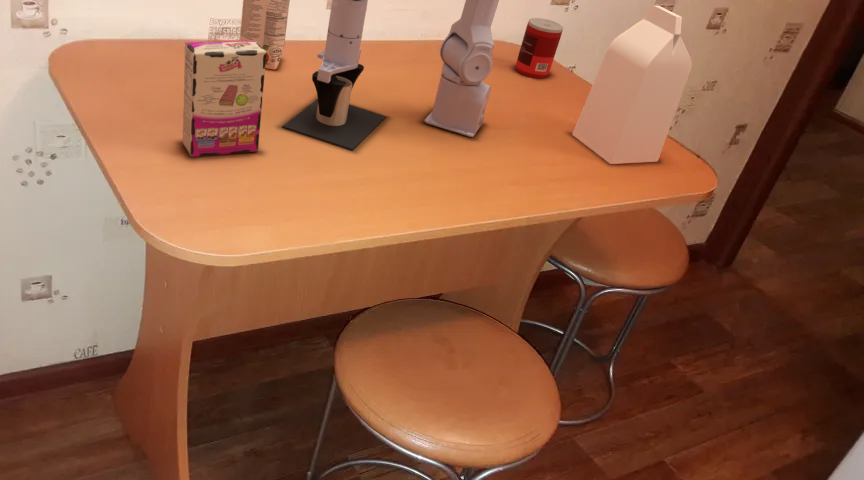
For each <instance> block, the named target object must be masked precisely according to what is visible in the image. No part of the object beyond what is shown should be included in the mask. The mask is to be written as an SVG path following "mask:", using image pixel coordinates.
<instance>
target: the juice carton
mask: <svg viewBox="0 0 864 480" xmlns="http://www.w3.org/2000/svg"><path fill="white" fill-rule="evenodd" d="M290 1H291V0H242V10H241V21H240V34H239V41H256V42H257V43H258V44H259V45H260V46H261V47H262V48H263V49H264V50H265V51H266V64H265V69H269V70H277V69H278V66H279V65H280V62H281V59H282V57H283V53H284V51H285V50H284V49H285V45H286V44H285V43H286V35H287V28H288V27H287V26H288V19H289V10H290Z"/></svg>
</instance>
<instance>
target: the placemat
mask: <svg viewBox="0 0 864 480" xmlns="http://www.w3.org/2000/svg"><path fill="white" fill-rule="evenodd" d="M317 107H318V98H317V99H315V100H314V101H313V102H312V103H310V104H309V105H308V106H306V107H305V108H303V110H301V111H300V112H299V113H297V114H296V115H295V116H293V117H292V118H290V120H288V121H287V122H286V123H284V124H283V125H282V126H281V127H282V129H285V130H288V131H290V132H294V133H297V134H300V135H302V136H306V137H309V138H313V139H316V140H319V141H322V142H324V143H328V144H331V145H334V146H336V147H340V148H343V149H346V150H349V151H354V150H355V149H356V148H357V147H358V146H359V145H360V144H361V143H362V142H363V141H364V140H365V139H366V138H367V137H368V136H369V135H370V134H371V133H372V132H373V131H374V130H376V128H377V127H378V126H379V125H380V124H381V123H382V122H383V121H384V120H385V119H386V118H387V116H386V115H384V114H381V113H379V112H378V113H377V112H374V111H371V110H368V109H365V108H362V107H358V106H355V105H352V104H349V107H348V113H347V119H346V123H345V124H343V125H340V126H331V125H326V124H323V123H321V122H319V121H318V120H317V118H316V114H317Z"/></svg>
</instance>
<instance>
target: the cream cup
mask: <svg viewBox="0 0 864 480" xmlns="http://www.w3.org/2000/svg"><path fill="white" fill-rule="evenodd" d="M336 77H338V80H341V81H344V82H347V83H346V84H345V86H344V87H343V89H342V90H341V92H340V94H339V97H338V99H337V102H336V106H335V109H334V112H333V114H332V116H331V117H330V118H329V117H326V116H323V115H320V114H319V106H318V107H317V114H316V118H317V120H318V121H319V122H321V123H323V124H326V125H331V126H340V125H343V124H345V123H346V119H347V113H348V107H349V105H350V100H351V95H352V91H353V88H352V82H351V81H350V80H348V79H346V78H344V77H340V76H336ZM351 90H352V91H351Z"/></svg>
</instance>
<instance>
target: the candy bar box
mask: <svg viewBox="0 0 864 480" xmlns="http://www.w3.org/2000/svg"><path fill="white" fill-rule="evenodd" d="M265 64H266V51H265V50H264V49H263V48H262V47H261V46H260V45H259V44H258V43H257V42H256V41H240V40H228V41H227V40H224V41H185V43H184V71H183V72H184V73H183V75H184V76H183V110H182V111H183V112H182V145H183V147H184V148H185V150H186V151H187V153H188V155H190V157H191V158H198V157H199V158H200V157H210V156H222V155H232V154H233V155H234V154H244V153H245V154H246V153H255V152H258V151H259V142H260V132H261V119H262V107H263V97H264V87H265V86H264V85H265V73H266V68H265Z"/></svg>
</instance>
